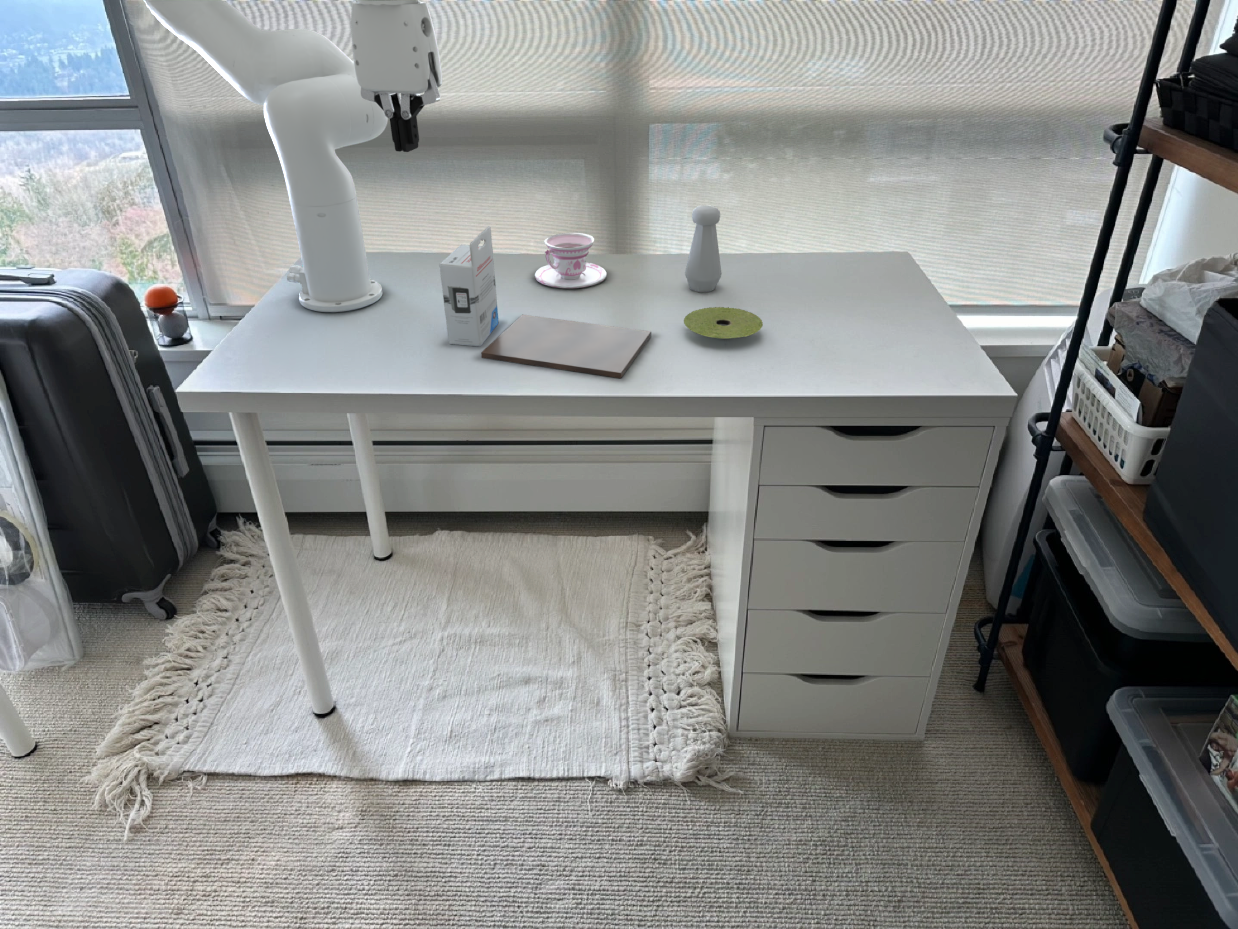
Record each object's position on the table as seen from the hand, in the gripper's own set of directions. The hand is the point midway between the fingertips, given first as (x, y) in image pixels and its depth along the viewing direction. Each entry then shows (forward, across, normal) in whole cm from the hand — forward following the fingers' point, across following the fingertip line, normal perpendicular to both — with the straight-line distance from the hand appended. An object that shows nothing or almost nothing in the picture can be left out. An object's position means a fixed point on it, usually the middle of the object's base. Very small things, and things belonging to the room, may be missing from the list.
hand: (407, 149), depth 112 cm
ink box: (+25, -7, 0) cm, 26 cm away
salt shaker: (+25, -34, -28) cm, 51 cm away
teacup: (+25, -12, -26) cm, 38 cm away
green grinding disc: (+25, -41, -11) cm, 50 cm away
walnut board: (+25, -22, 0) cm, 33 cm away
